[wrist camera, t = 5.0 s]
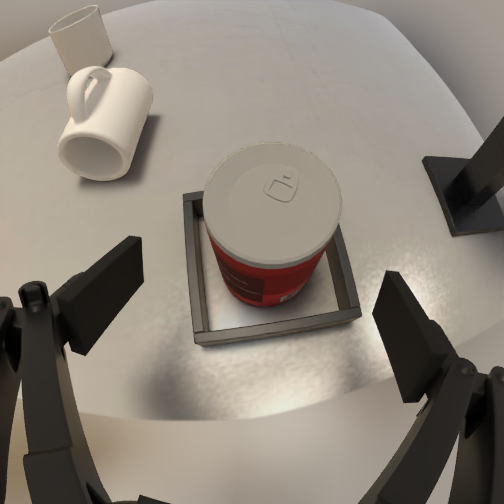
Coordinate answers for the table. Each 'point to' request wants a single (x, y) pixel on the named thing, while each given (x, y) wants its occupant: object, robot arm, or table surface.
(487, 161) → the steel stand
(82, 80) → the mug
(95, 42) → the mug
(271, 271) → the canned food
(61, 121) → the table surface
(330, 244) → the grey square frame
